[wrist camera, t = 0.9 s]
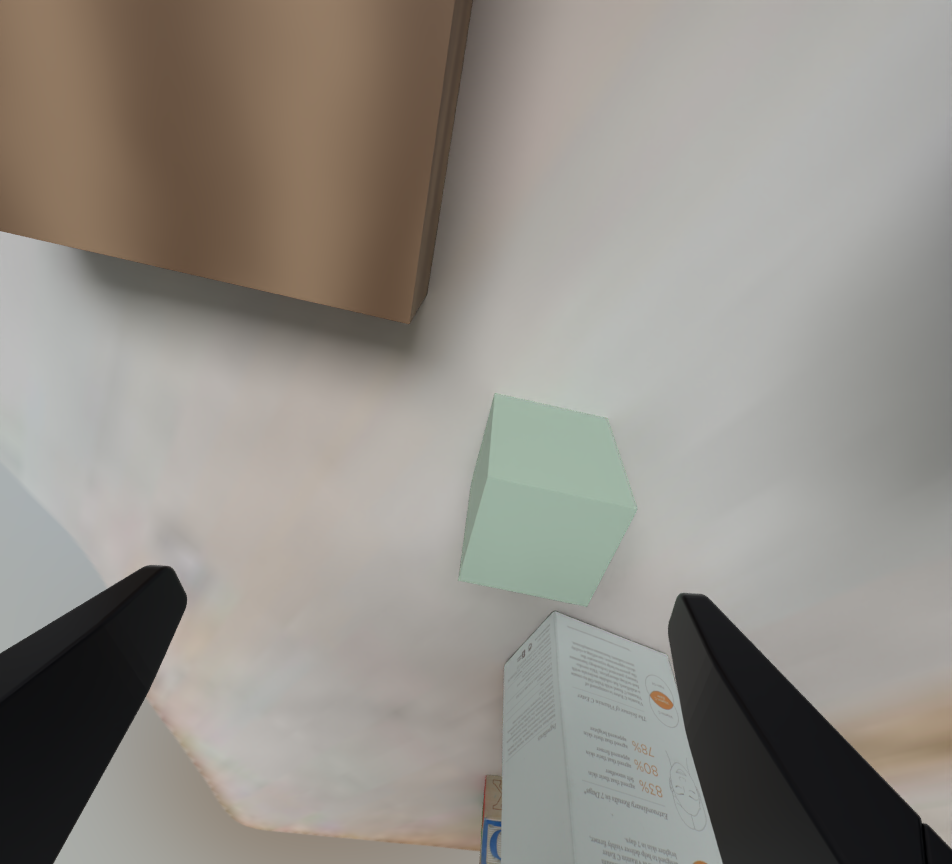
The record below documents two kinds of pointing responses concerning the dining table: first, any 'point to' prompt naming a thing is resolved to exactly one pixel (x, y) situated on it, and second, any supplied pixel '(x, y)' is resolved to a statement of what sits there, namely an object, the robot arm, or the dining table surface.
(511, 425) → the green cube
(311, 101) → the walnut base
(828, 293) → the dining table surface
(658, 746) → the small box
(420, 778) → the dining table surface
